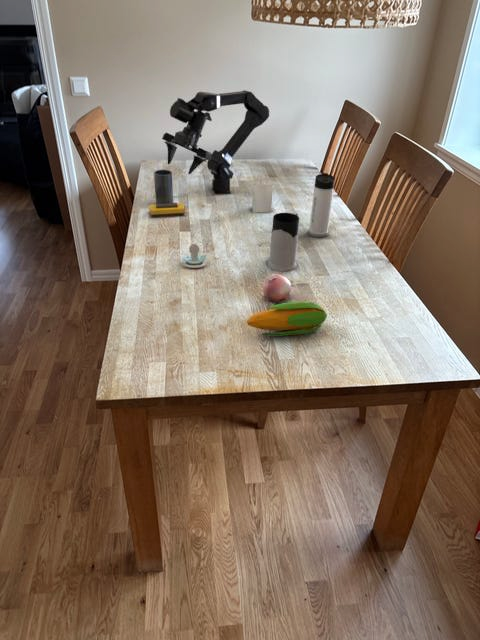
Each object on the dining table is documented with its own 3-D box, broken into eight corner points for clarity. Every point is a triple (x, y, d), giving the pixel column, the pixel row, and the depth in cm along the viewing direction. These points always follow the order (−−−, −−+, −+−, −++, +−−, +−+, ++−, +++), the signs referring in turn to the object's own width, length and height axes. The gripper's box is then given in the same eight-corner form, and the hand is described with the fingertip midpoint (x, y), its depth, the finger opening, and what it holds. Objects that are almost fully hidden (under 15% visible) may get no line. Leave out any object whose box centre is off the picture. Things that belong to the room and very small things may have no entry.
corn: (333, 309, 116) (250, 316, 112) (329, 336, 120) (249, 344, 116) (322, 294, 122) (243, 300, 119) (319, 320, 126) (243, 327, 122)
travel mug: (326, 230, 172) (334, 173, 160) (327, 238, 166) (335, 179, 155) (308, 229, 172) (315, 172, 161) (309, 237, 167) (315, 178, 155)
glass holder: (263, 266, 148) (266, 219, 140) (280, 248, 159) (284, 203, 151) (290, 273, 145) (295, 226, 137) (306, 254, 156) (311, 209, 148)
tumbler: (176, 203, 188) (174, 171, 181) (169, 209, 183) (167, 176, 176) (160, 201, 189) (158, 168, 182) (153, 207, 184) (151, 174, 177)
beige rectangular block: (271, 212, 183) (272, 186, 178) (252, 212, 183) (254, 186, 177) (269, 208, 186) (271, 182, 181) (252, 208, 186) (253, 182, 180)
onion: (262, 290, 137) (263, 267, 133) (290, 291, 137) (292, 268, 133) (262, 306, 130) (263, 282, 126) (291, 307, 130) (294, 283, 126)
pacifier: (206, 269, 146) (206, 259, 151) (206, 250, 142) (206, 241, 147) (181, 269, 146) (182, 259, 150) (181, 250, 142) (181, 241, 147)
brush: (182, 210, 183) (182, 200, 181) (184, 215, 178) (184, 206, 176) (150, 212, 180) (149, 202, 178) (151, 217, 176) (150, 208, 174)
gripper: (163, 113, 174) (147, 155, 178) (207, 133, 170) (191, 176, 175) (176, 120, 184) (161, 160, 189) (219, 139, 181) (203, 180, 185)
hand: (178, 169), depth 184 cm, fingers open, 9 cm apart
